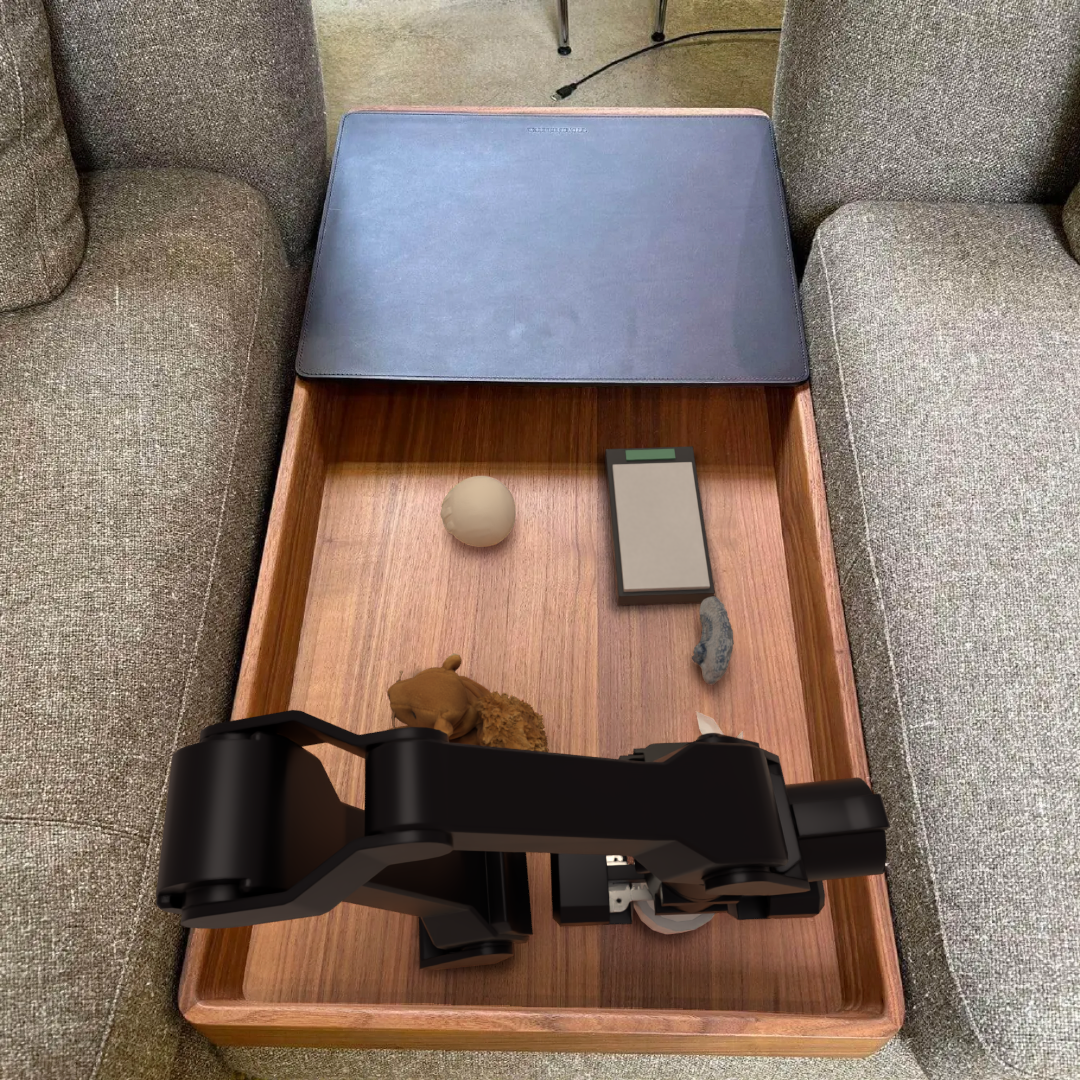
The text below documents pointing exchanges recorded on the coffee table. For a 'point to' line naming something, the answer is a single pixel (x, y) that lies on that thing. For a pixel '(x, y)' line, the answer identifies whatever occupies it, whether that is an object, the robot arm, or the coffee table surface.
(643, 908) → the shot glass
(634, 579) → the kitchen scale
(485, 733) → the stuffed squirrel
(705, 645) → the fossil
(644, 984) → the coffee table surface
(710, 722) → the toy bird
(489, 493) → the beige round ball
